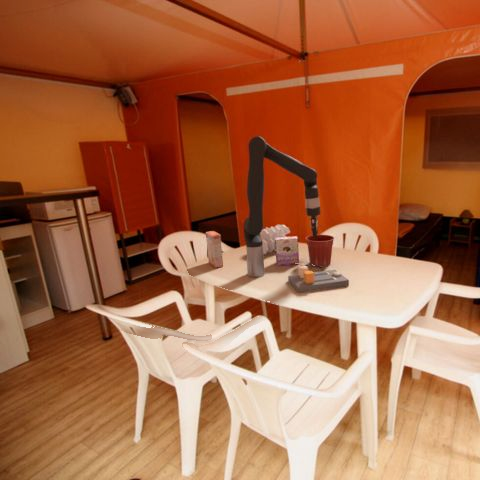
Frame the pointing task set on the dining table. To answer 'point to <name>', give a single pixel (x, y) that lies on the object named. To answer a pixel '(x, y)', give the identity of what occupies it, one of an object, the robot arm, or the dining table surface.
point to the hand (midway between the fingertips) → (315, 235)
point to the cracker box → (214, 249)
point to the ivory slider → (302, 270)
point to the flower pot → (320, 249)
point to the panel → (319, 281)
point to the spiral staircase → (272, 237)
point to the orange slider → (308, 277)
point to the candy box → (286, 250)
